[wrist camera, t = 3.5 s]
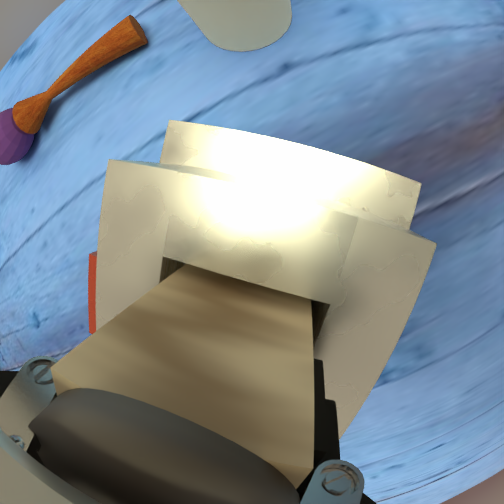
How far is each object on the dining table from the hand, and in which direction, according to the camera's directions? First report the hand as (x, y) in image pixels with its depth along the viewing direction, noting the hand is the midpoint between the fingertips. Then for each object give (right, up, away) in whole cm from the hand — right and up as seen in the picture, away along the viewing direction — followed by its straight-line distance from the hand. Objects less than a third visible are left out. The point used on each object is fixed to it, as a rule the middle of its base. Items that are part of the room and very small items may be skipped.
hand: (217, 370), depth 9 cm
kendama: (-17, +19, +12) cm, 28 cm away
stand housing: (+2, +3, +12) cm, 12 cm away
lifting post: (+2, +3, +11) cm, 11 cm away
